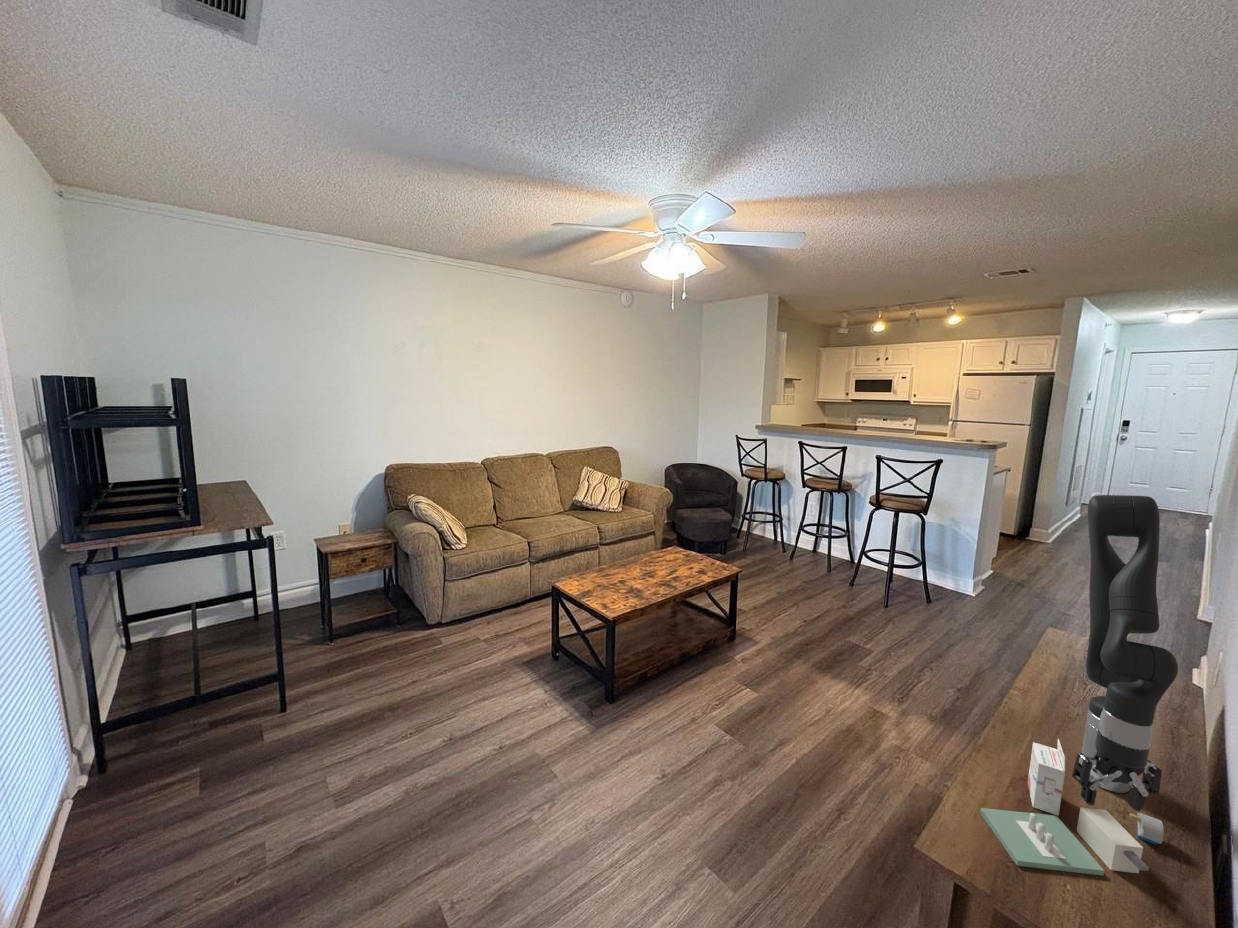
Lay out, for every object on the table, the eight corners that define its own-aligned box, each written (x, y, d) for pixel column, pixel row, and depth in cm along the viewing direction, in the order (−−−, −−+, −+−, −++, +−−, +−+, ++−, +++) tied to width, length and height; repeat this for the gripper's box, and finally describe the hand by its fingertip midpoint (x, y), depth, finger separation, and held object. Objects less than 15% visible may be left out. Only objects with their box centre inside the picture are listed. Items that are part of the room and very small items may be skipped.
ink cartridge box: (1025, 782, 123) (1033, 729, 120) (1051, 791, 120) (1060, 737, 118) (1031, 807, 116) (1040, 751, 113) (1059, 817, 113) (1068, 759, 111)
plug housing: (1101, 833, 109) (1105, 809, 108) (1154, 890, 96) (1159, 864, 96) (1076, 831, 109) (1080, 807, 108) (1126, 887, 97) (1130, 860, 96)
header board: (1055, 820, 112) (1058, 801, 111) (1103, 875, 99) (1107, 855, 99) (979, 812, 114) (982, 794, 113) (1016, 865, 101) (1019, 845, 101)
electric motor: (1124, 819, 112) (1128, 800, 111) (1155, 831, 109) (1159, 812, 108) (1129, 841, 107) (1133, 821, 106) (1162, 854, 104) (1166, 833, 103)
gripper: (1146, 726, 103) (1133, 795, 106) (1071, 719, 105) (1059, 786, 108) (1181, 752, 96) (1166, 825, 98) (1099, 743, 98) (1086, 815, 100)
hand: (1110, 804), depth 103 cm, fingers open, 8 cm apart
